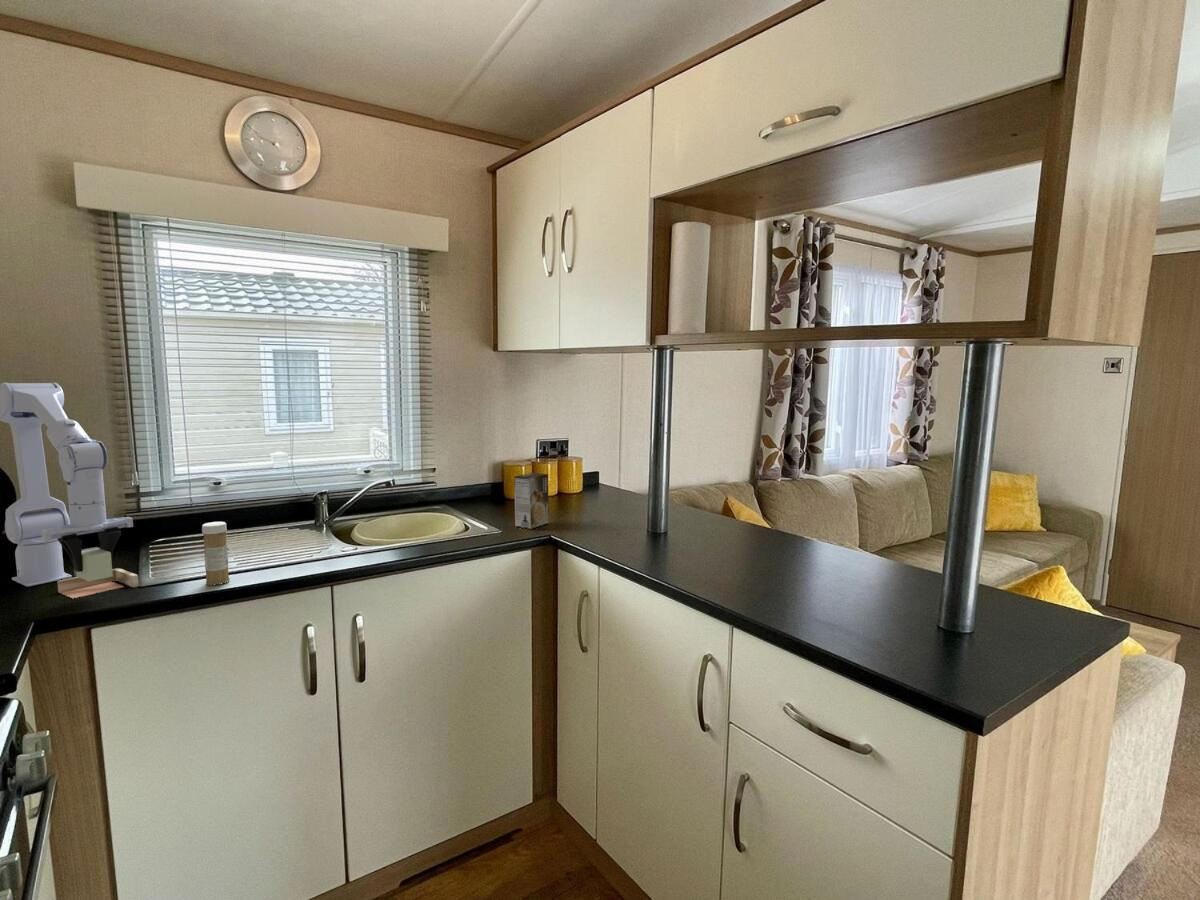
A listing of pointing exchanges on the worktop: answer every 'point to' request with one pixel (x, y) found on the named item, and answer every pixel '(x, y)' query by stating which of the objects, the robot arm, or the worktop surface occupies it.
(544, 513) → the coffee box
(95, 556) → the sage block
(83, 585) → the corner arena
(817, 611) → the worktop surface
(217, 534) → the sprinkles bottle
